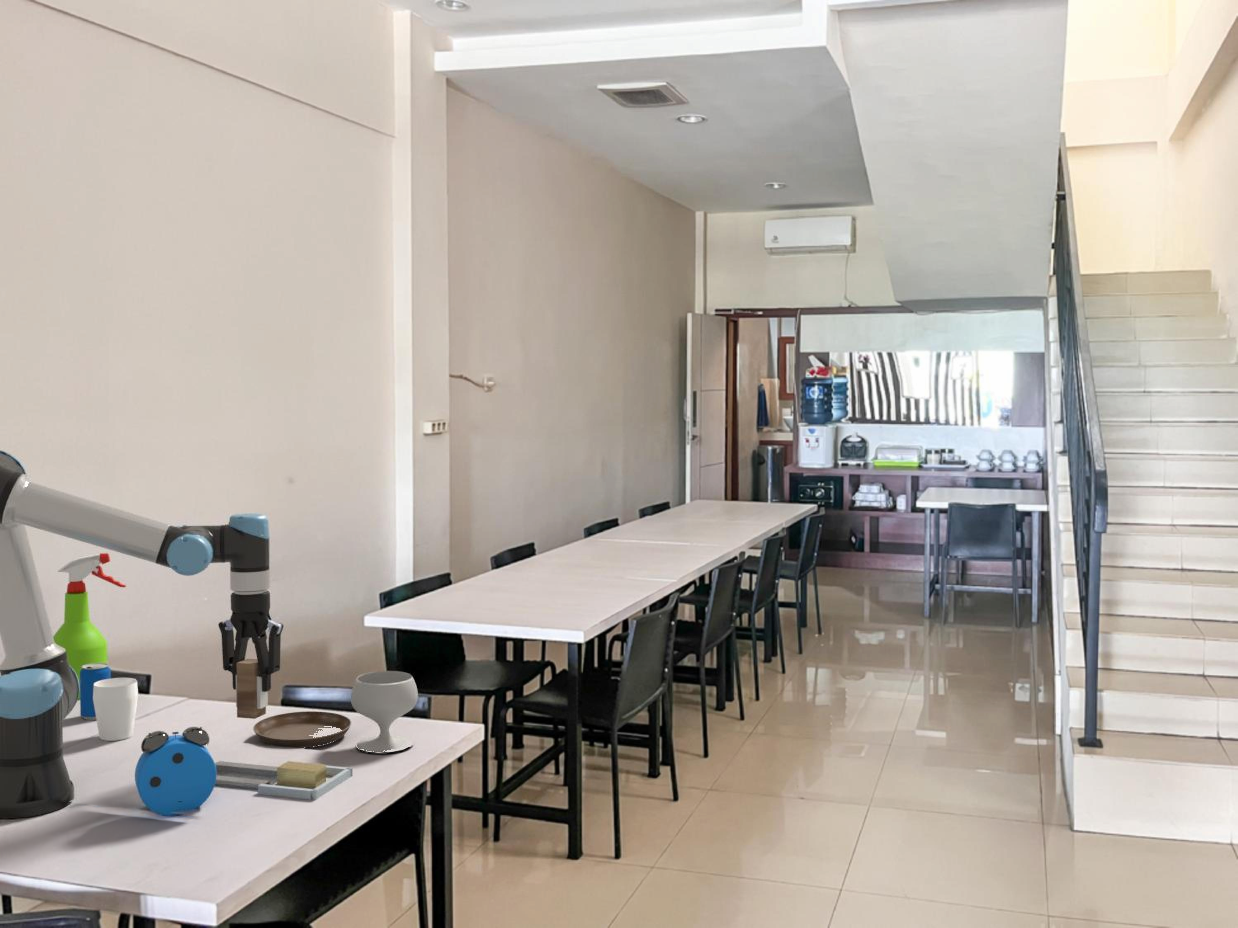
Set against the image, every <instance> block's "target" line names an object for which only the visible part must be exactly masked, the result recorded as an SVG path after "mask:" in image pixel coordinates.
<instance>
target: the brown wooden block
mask: <svg viewBox="0 0 1238 928" xmlns="http://www.w3.org/2000/svg"><path fill="white" fill-rule="evenodd" d="M259 674H260V670H259V665H258V660H257V658H256V659H255V658H245V660H243V661H240V662H238V663H237V707H236V718H239V719H240V718H242V719H254V720H255V719H258V718H260V717H262V716H265V715H267V706H266V707H264V708H261V709H257V676H258V675H259Z"/></svg>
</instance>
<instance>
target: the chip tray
mask: <svg viewBox="0 0 1238 928" xmlns="http://www.w3.org/2000/svg"><path fill="white" fill-rule="evenodd" d="M326 776H331V777H330V778H329V779H326V782H324V783H323V784H321V785H320V786H318V787H316V788H315V789H306V788H297V787H287V786H277V784H276V785H275V784H273V785H268V784H260V785H258V790H257V794H258V795H268V796H275V797H285V798H295V799H301V800H302V799H303V800H311V801H317V800H319V798H322V797H323V796H324V795H326V794H327V793H329V792H330V791H332V790H333V789H335V788H336V787H338V786H339V785H341V784H342V783H345V782H346V781H347V780H348V779H350V778H351V777H353V767H344V766H333V765H326Z"/></svg>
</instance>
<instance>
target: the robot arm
mask: <svg viewBox="0 0 1238 928" xmlns="http://www.w3.org/2000/svg"><path fill="white" fill-rule="evenodd" d="M269 525H270V524H269V519H268V517H267V516H266V515H265V514H262V513H238V514H232V515H231V516H229V520H228V524H222V525H221V524H220V525H187V524H183V525H180V526H179V525H177V526H175V525H170V524H167V523H165V522H162V521H158V520H155V519H151V518H149V517H145V516H141V515H138V514H135V513H133V512H129V511H125V510H122V509H119V508H116V507H112V506H110V505H106V504H103V503H99V502H96V501H93V500H90V499H87V498H83V497H80V496H78V495H73V494H70V493H67V492H64V491H61V490H58V489H55V488H52V487H47V486H46V485H41V484H38V483H35V482H31V480H30V479H29V477H28V475H27V471H26V468H25V466H24V465H23V463H22V462H21V461H20V459H18V458H16V457H15V456H14V455H12V454H11V453H8V452H6V451H4V450H2V449H1V450H0V639H1V643H2V647H3V651H4V655H5V656H4V659H3V661H2V662H1V663H0V819H16V818H29V817H34V816H38V815H45V814H47V813H52V812H54V811H55V812H56V811H58V810H60V809H63V808H65V807H66V806H68V805H70V804H71V803H72V801H74V800H75V785H74V783H73V781H72V780H71V777H70V774H69V771H68V768H67V765H66V763H65V760H64V749H63V748H64V746H63V745H64V742H63V741H64V739H63V738H64V736H63V734H64V733H63V724H64V723H63V722H64V720H65V719H66V717H67V716H68V715H70V713H71V712H72V711H73V710H74V708H75V707H76V704H77V702H78V697H79V690H80V685H79V679H78V676H77V674H76V672H75V671H74V670H73V668H72V667H71V666H70V665H69V661H68V658H67V654H66V650H65V648H63V647H61V646H59V645H57V644H56V643H55V642H54V638H53V636H54V635H53V631H52V628H51V624H50V619H49V615H48V613H47V607H46V603H45V600H44V596H43V592H42V589H41V583H40V580H39V575H38V572H37V568H36V565H35V564H36V563H35V561H34V556H33V553H32V549H31V544H30V541H29V536H28V532H27V528H26V527H27V526H28V527H31V528H34V529H38V530H42V531H45V532H47V533H51V534H55V535H58V536H61V537H66V538H69V539H72V540H75V541H79V542H82V543H85V544H86V543H87V544H89V545H93V546H96V547H98V548H104V549H107V550H109V551H114V552H116V553H121V554H123V555H127V556H130V557H134V558H137V559H141V560H143V561H147V562H151V563H154V564H155V565H156V564H157V565H160V566H163V567H166V568H169V569H171V570H172V571H174V572H175V573H176V574H178V575H181V576H186V577H189V576H194V575H198V574H200V573H202V572H203V571H205V570H206V569H207V568H208V567H209V566H210V564H218V563H219V564H220V563H221V564H223V563H224V564H225V563H229V565H230V567H229V568H230V569H229V570H230V571H229V572H230V573H229V576H230V577H229V580H230V581H229V582H230V585H229V587H230V588H229V590H231V591H232V593H231V594H230V610H231V611H232V612H231V613H232V614H231V616H230V619H226V620H223V621H220V622H219V623H218V624H217V625H218V628H219V632H220V634H221V635H220V636H221V653H222V669H223V670H224V671H225V672H226V671H228V672H230V673H231V674H232V688H233V690H235V705H236V708H237V663H238V662H240V661H243V660H246V656H247V655H246V654H247V650H248V648H247V647H248V643H249V640H250V638H251V642H252V643H253V645H254V648H255V649H254V650H255V654H256V659H257V660H258V665H259V670H260V674H259V675H258V676H257V709H261V708H264V707H266V708H267V707H268V706H269V701H268V700H269V698H268V697H269V694H268V693H269V691H271V689H272V678H271V677H272V675H273V674H274V673H275V674H276V673H277V672H279V671H280V669H281V643H282V642H281V640H282V639H281V638H282V635H281V634H282V633H283V632H282V631H283V630H284V624H283V623H282V622H279V623H277V622H276V621H273V620H272V618H271V615H270V609H271V592H269V589H270V587H271V584H270V582H271V581H270V579H271V578H270V577H271V576H270V572H271V571H270V570H271V569H270V530H269V529H270V528H269V527H270V526H269ZM234 629H235V633H234ZM267 629H268V633H269V635H268V636H267ZM267 639H268V643H267Z"/></svg>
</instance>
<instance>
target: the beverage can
mask: <svg viewBox="0 0 1238 928" xmlns="http://www.w3.org/2000/svg"><path fill="white" fill-rule="evenodd" d="M111 671H112V670H111V668H110V667H109V663H108V664H106V663H92V664H87V665H83V666H82V670H81V671H80V700H79V705H80V708H79V709H80V711H79V713H80V716H81V717H82V718H84V720H88V721H89V720H90V721H97V719H96V714H95V708H94V702H93V689H94V683H95V682H97V681H100V680H105V679H111V678H112V677H111V675H112V672H111Z"/></svg>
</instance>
